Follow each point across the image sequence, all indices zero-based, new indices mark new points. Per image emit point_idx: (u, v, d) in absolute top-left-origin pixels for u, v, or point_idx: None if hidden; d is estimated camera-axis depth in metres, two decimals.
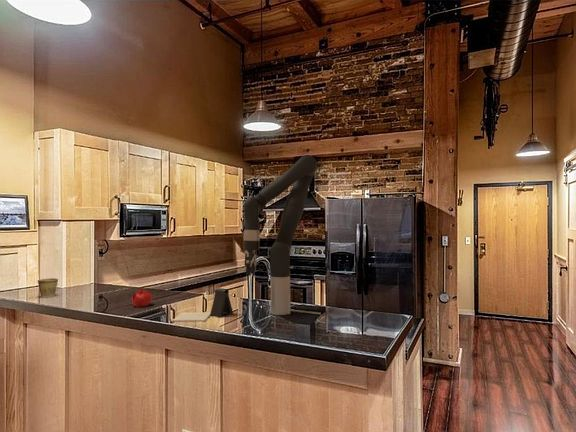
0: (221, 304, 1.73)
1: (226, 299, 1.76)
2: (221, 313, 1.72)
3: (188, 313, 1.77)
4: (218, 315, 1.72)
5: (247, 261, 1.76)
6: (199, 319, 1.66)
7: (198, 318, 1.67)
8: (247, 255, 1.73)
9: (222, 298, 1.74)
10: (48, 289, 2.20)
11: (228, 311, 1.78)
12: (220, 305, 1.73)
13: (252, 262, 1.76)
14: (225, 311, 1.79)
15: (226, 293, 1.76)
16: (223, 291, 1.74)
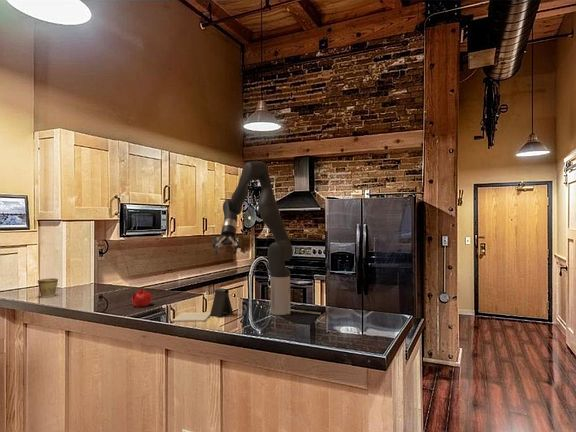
0: (221, 304, 1.73)
1: (226, 299, 1.76)
2: (221, 313, 1.72)
3: (188, 313, 1.77)
4: (218, 315, 1.72)
5: None
6: (199, 319, 1.66)
7: (198, 318, 1.67)
8: None
9: (222, 298, 1.74)
10: (48, 289, 2.20)
11: (228, 311, 1.78)
12: (220, 305, 1.73)
13: (219, 242, 1.91)
14: (225, 311, 1.79)
15: (226, 293, 1.76)
16: (223, 291, 1.74)
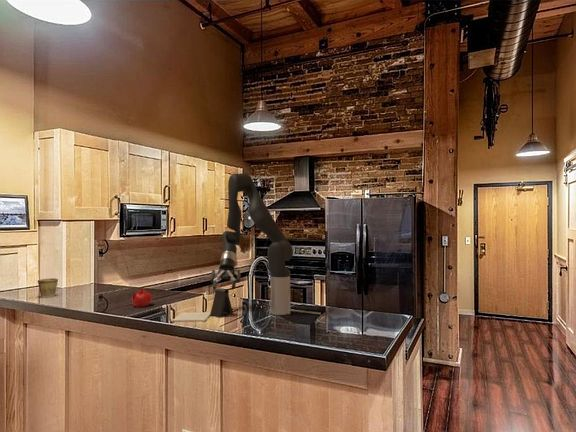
0: (221, 304, 1.73)
1: (226, 299, 1.76)
2: (221, 313, 1.72)
3: (188, 313, 1.77)
4: (218, 315, 1.72)
5: None
6: (199, 319, 1.66)
7: (198, 318, 1.67)
8: None
9: (222, 298, 1.74)
10: (48, 289, 2.20)
11: (228, 311, 1.78)
12: (220, 305, 1.73)
13: (217, 276, 1.85)
14: (225, 311, 1.79)
15: (226, 293, 1.76)
16: (223, 291, 1.74)
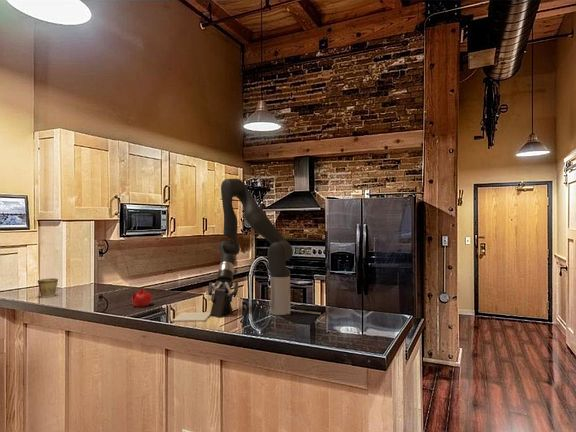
0: (221, 304, 1.73)
1: (226, 299, 1.76)
2: (221, 313, 1.72)
3: (188, 313, 1.77)
4: (218, 315, 1.72)
5: None
6: (199, 319, 1.66)
7: (198, 318, 1.67)
8: None
9: (222, 298, 1.74)
10: (48, 289, 2.20)
11: (228, 311, 1.78)
12: (220, 305, 1.73)
13: None
14: (225, 311, 1.79)
15: (226, 293, 1.76)
16: (223, 291, 1.74)
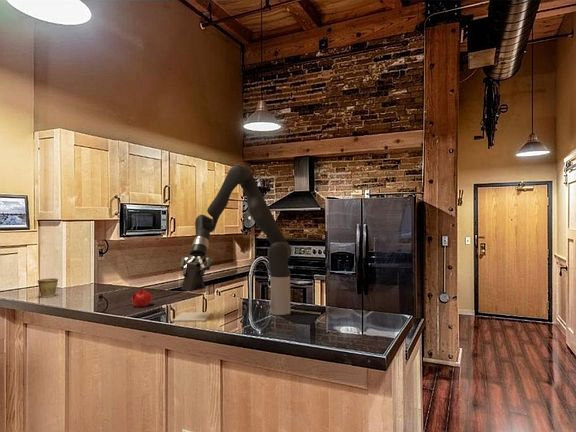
0: (192, 278, 1.69)
1: (198, 273, 1.72)
2: (192, 287, 1.68)
3: (188, 313, 1.77)
4: (189, 289, 1.68)
5: None
6: (199, 319, 1.66)
7: (198, 318, 1.67)
8: None
9: (193, 272, 1.70)
10: (48, 289, 2.20)
11: (200, 286, 1.73)
12: (191, 279, 1.69)
13: None
14: (197, 286, 1.74)
15: (198, 267, 1.72)
16: (194, 265, 1.70)
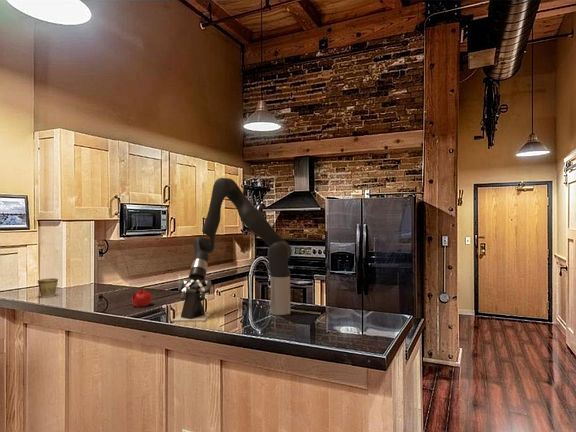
0: (192, 305, 1.68)
1: (197, 300, 1.71)
2: (191, 314, 1.67)
3: None
4: (188, 316, 1.67)
5: None
6: (199, 319, 1.66)
7: (198, 318, 1.67)
8: None
9: (193, 299, 1.69)
10: (48, 289, 2.20)
11: (200, 312, 1.73)
12: (191, 306, 1.68)
13: (186, 286, 1.74)
14: (197, 312, 1.74)
15: (197, 294, 1.71)
16: (194, 292, 1.69)
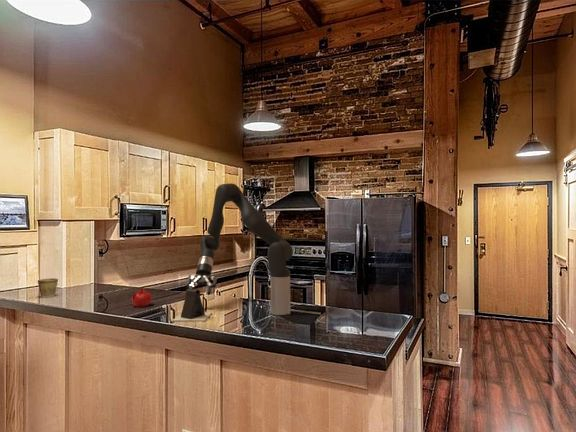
0: (192, 305, 1.68)
1: (197, 300, 1.71)
2: (191, 314, 1.67)
3: None
4: (188, 316, 1.67)
5: None
6: (199, 319, 1.66)
7: (198, 318, 1.67)
8: None
9: (193, 299, 1.69)
10: (48, 289, 2.20)
11: (200, 312, 1.73)
12: (191, 306, 1.68)
13: (193, 282, 1.87)
14: (197, 312, 1.74)
15: (197, 294, 1.71)
16: (194, 292, 1.69)
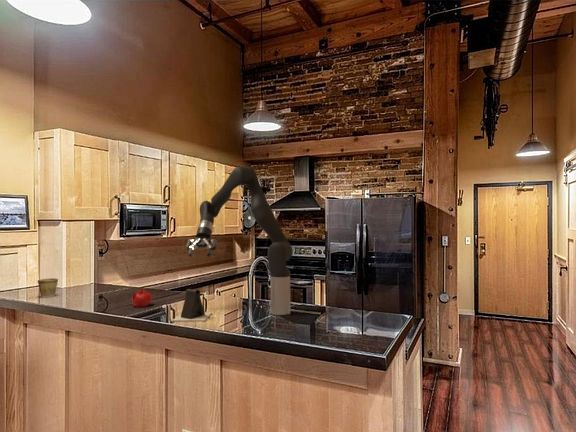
0: (192, 305, 1.68)
1: (197, 300, 1.71)
2: (191, 314, 1.67)
3: None
4: (188, 316, 1.67)
5: None
6: (199, 319, 1.66)
7: (198, 318, 1.67)
8: None
9: (193, 299, 1.69)
10: (48, 289, 2.20)
11: (200, 312, 1.73)
12: (191, 306, 1.68)
13: (193, 244, 1.87)
14: (197, 312, 1.74)
15: (197, 294, 1.71)
16: (194, 292, 1.69)
